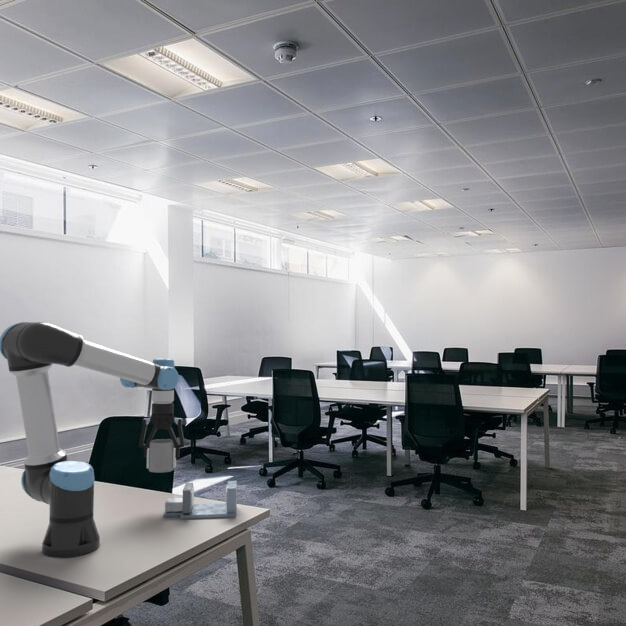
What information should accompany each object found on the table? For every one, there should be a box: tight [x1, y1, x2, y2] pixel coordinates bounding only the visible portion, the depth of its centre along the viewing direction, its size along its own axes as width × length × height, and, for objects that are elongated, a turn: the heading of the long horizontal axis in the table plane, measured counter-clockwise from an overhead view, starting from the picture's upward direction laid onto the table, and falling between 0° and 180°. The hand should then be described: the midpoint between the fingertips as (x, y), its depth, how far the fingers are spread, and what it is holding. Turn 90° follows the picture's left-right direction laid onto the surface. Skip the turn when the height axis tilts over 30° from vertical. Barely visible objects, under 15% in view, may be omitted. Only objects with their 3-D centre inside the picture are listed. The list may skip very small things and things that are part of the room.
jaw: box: [164, 482, 195, 513], centre depth 199 cm, size 10×9×8 cm
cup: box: [148, 438, 175, 474], centre depth 207 cm, size 8×8×10 cm
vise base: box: [163, 480, 238, 520], centre depth 200 cm, size 12×24×9 cm, turn 97°
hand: (161, 467), depth 207 cm, fingers closed on cup, 8 cm apart
